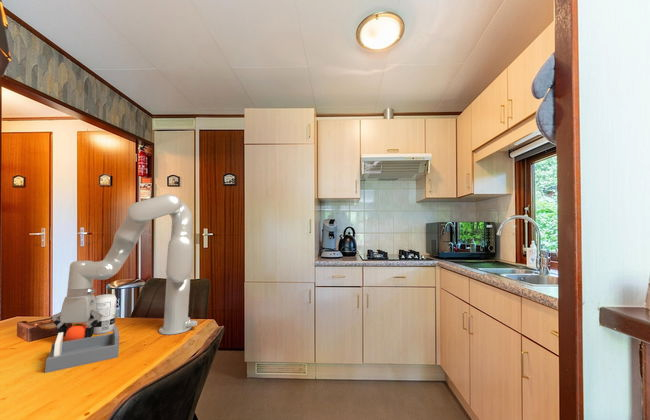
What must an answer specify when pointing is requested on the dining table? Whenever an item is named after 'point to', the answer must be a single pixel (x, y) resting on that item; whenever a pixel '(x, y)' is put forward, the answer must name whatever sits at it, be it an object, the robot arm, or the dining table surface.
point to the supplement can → (105, 313)
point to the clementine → (76, 332)
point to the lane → (84, 351)
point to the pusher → (58, 344)
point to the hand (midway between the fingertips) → (75, 337)
